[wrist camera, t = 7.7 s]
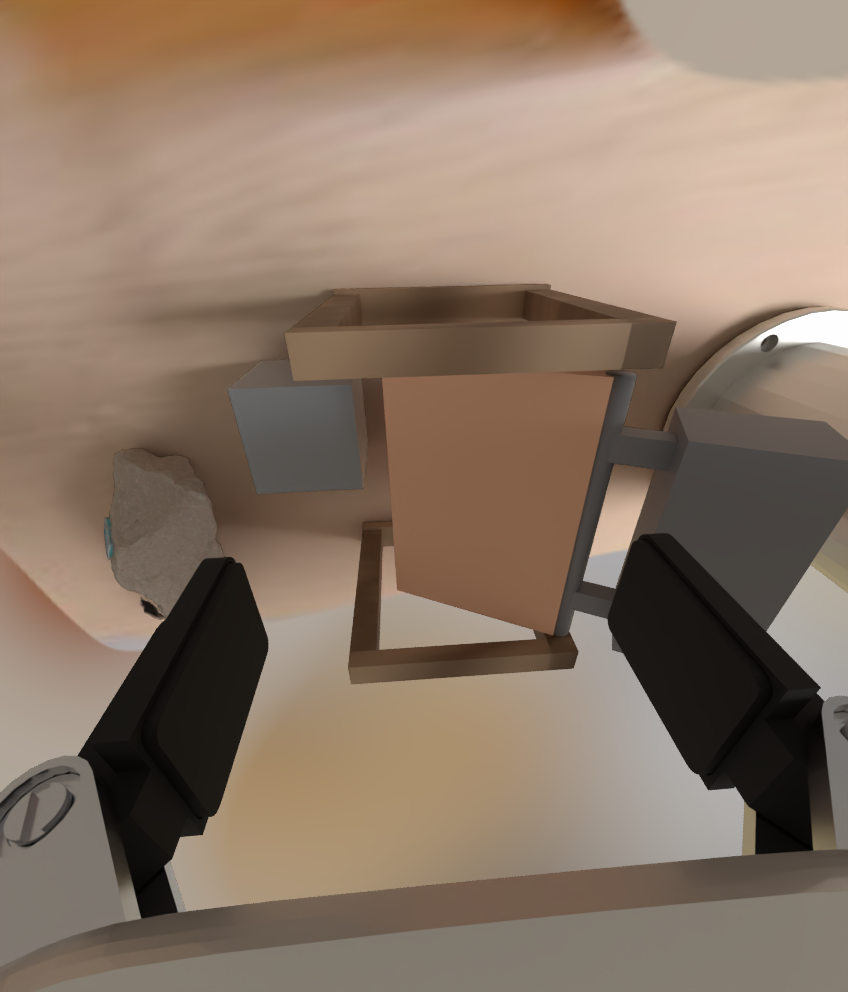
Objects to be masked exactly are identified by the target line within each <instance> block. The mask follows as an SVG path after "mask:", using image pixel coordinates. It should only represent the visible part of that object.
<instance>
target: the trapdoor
mask: <svg viewBox="0 0 848 992" xmlns="http://www.w3.org/2000/svg"><path fill="white" fill-rule="evenodd" d="M636 378H637V374H636V373H633V372H630V371H624V370H594V371H566V372H537V373H508V374H479V375H450V376H422V377H393V378H382V384H383V398H384V412H385V426H386V440H387V454H388V468H389V482H390V496H391V510H392V523H393V537H394V551H395V565H396V579H397V590H399V591H403V592H406V593H409V594H413V595H416V596H420V597H423V598H427V599H430V600H433V601H437V602H440V603H444V604H447V605H451V606H454V607H457V608H461V609H465V610H468V611H471V612H474V613H478V614H481V615H485V616H488V617H492V618H495V619H498V620H502V621H505V622H509V623H513V624H516V625H519V626H522V627H526V628H529V629H533V630H536V631H539V632H543V633H546V634H550V635H553V634H554V635H556V636H561V637H562V636H566V635H567V634H568V633H569V629H570V625H571V622H572V618H573V615H574V611H575V610H577V611H581V612H584V613H588V614H591V615H595V616H599V617H603V618H606V619H608V614H609V611H610V608H611V605H612V602H613V599H614V596H615V593H616V590H617V587H618V584H619V581H620V578H621V575H622V572H623V569H624V566H625V563H626V560H627V557H628V554H629V551H630V548H631V545H632V543H633V542H634V541H637V540H638V538H639V537H640V536H641V535H643V534H655V533H668V534H670V535H672V536H673V537H674V538H675V539H676V540H677V541H678V542H679V543H680V544H681V545H682V546H683V547H684V548H685V549H686V550H687V551H688V552H689V553H690V554H691V555H692V556H693V557H694V559H695V560H696V561H697V562H698V563H699V564H700V565H701V566H702V567H703V568H704V569H705V570H706V571H707V572H708V573H709V574H710V575H711V576H712V577H713V578H714V579H715V580H716V581H717V582H718V583H719V584H720V585H721V586H722V587H723V588H724V589H725V590H726V591H727V592H728V593H729V594H730V595H731V596H732V597H733V598H734V599H735V600H736V601H737V602H738V604H739V605H740V606H741V607H742V608H743V609H744V610H745V611H746V612H747V613H748V614H749V615H750V616H751V617H752V618H753V619H754V620H755V621H756V622H757V623H758V624H759V625H760V626H761V627H762V628H763V629H764V630H765V631H767V629H768V628H769V626H770V625H771V623H772V622H773V620H774V619H775V617H776V616H777V614H778V613H779V611H780V610H781V608H782V607H783V605H784V604H785V602H786V601H787V599H788V598H789V596H790V595H791V593H792V591H793V590H794V588H795V587H796V585H797V584H798V583H799V581H800V579H801V578H802V576H803V575H804V573H805V572H806V570H807V569H808V567H809V566H810V564H811V563H812V561H813V560H814V558H815V557H816V555H817V554H818V552H819V551H820V549H821V548H822V546H823V545H824V543H825V542H826V540H827V539H828V537H829V536H830V534H831V533H832V531H833V530H834V528H835V527H836V525H837V524H838V522H839V520H840V519H841V517H842V516H843V514H844V513H845V511H846V510H847V508H848V440H847V439H846V438H844V437H843V436H842V435H841V434H840V433H838V432H837V431H836V430H835V429H834V428H832V427H831V426H830V425H829V424H828V423H826V422H825V421H815V420H804V419H794V418H784V417H774V416H764V415H754V414H744V413H734V412H724V411H714V410H704V409H694V408H684V407H675V410H674V413H673V416H672V419H671V422H670V425H669V428H668V431H667V432H665V431H656V430H648V429H639V428H631V427H624V423H625V419H626V416H627V412H628V408H629V404H630V401H631V397H632V393H633V389H634V386H635V382H636ZM614 463H615V464H622V465H629V466H636V467H642V468H649V469H655V471H654V474H653V477H652V480H651V483H650V486H649V489H648V492H647V495H646V498H645V501H644V504H643V507H642V510H641V513H640V516H639V519H638V522H637V525H636V528H635V531H634V534H633V537H632V540H631V543H630V546H629V549H628V552H627V556H626V558H625V561H624V565H623V567H622V570H621V574H620V576H619V579H618V582H617V585H616V589H614V588H610V587H606V586H602V585H598V584H594V583H589V582H585V581H583V577H584V573H585V570H586V566H587V562H588V558H589V555H590V551H591V547H592V543H593V540H594V536H595V532H596V528H597V525H598V521H599V517H600V513H601V510H602V506H603V502H604V498H605V495H606V491H607V487H608V483H609V479H610V476H611V472H612V468H613V464H614ZM612 650H614V651H618V652H621V653H623V652H622V650H621V648H620V647H619V645H618V643H617V641H616V640H615V638H614V636H613V634H612Z"/></svg>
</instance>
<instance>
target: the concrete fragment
mask: <svg viewBox="0 0 848 992" xmlns="http://www.w3.org/2000/svg"><path fill="white" fill-rule="evenodd" d="M113 464H114V472H113V477H114V481H115V492H114V495H113V502H112V504H111V509H110V513H109V518H106V517H105V527H104V535H105V545H106V553H107V558H108V560H111V567H112V571H113V573H114V576H115V579H116V580H117V582H118V583H119V584H120V585H121V587H123V588H124V589H126V590H129V591H133V592H137V593H140V594H144V595H145V597H146V598H147V599H151V600H153V601H154V602H155V603H156V604H157V605H158V608H159V611H160V612H161V613H162V614H163V615H164V616H165V617H164V616H163V615H162V614H161V613H159V611H158V610H157V608H156V607H155V606H154V605H153V604H151V603H150V602H148V601H145V600H144V599H143V598H142V597H141V606H142V607H143V608H144V612H145V613H147V614H149V615H150V616H152V617H153V618H155V619H159V620H161V619H164V618H165V620H166V618H167V617H168V615H169V613H170V612H171V610H172V608H173V607H174V605H175V604H176V602H177V600H178V599H179V597H180V595H181V594H182V592H183V591H184V589H185V587H186V586H187V584H188V582H189V581H190V579H191V578H192V576H193V574H194V573H195V571H196V569H197V568H198V566H199V565H200V563H201V562H202V561H203V560H204V559H206V558H222V557H224V555H223V553H222V549H221V545H220V544H219V543H218V542H217V540H216V531H217V523H216V520H215V517H214V515H213V507H212V502H211V500H210V499H209V498H208V496H207V494H206V492H205V487H204V482H203V481H201V480H199V478H198V476H197V475H196V473H195V472H194V471H193V469H192V467H191V466H190V461H189V460H188V459H187V458H186V457H183V456H179V455H177V456H171V455H169V456H166V457H157V456H155V455H153V454H152V453H150V452H148V451H146V450H143V449H139V448H131V449H129V450H121V451H119V452H117V453H115V455H114V457H113Z"/></svg>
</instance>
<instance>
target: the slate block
mask: <svg viewBox="0 0 848 992" xmlns="http://www.w3.org/2000/svg"><path fill="white" fill-rule="evenodd" d="M227 390H228V393H229V397H230V400H231V404H232V407H233V411H234V414H235V418H236V422H237V425H238V429H239V432H240V436H241V439H242V443H243V446H244V450H245V454H246V457H247V461H248V464H249V468H250V471H251V475H252V479H253V482H254V486H255V489H256V493H257V494H267V493H287V492H308V491H328V490H348V489H363V486H364V477H365V469H366V461H367V452H368V438H367V428H366V418H365V408H364V397H363V387H362V379H335V380H306V381H293V376H292V371H291V365H290V360H261V361H260V362H259V363H258V364H256V365H255V366H254V367H253V368H252V369H251V370H249V371H248V372H247V373H246V374H245V375H243V376H242V377H241V378H240V379H239V380H238V381H236V382H235V383H234V384H233V385H232V386H231V387H229V388H228V389H227Z"/></svg>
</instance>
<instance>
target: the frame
mask: <svg viewBox="0 0 848 992" xmlns="http://www.w3.org/2000/svg"><path fill="white" fill-rule="evenodd" d="M550 287H551V285H549V284H529V285H487V286H445V287H403V288H361V289H334V290H333V291H334V295H333V296H332V297H331V298H329V299H328V300H327V301H326V302H324V303H323V304H322V305H320V306H319V307H318V308H316V309H315V310H314V311H313V312H311V313H310V314H309V315H307V316H306V317H305V318H303V319H302V320H301V321H299V322H298V323H297V324H296V325H294V326H293V327H292V328H290V329H289V330H288V331H286V332H285V333H284V334H285V339H286V344H287V350H288V355H289V360H290V365H291V371H292V376H293V381H306V380H335V379H364V378H393V377H422V376H450V375H479V374H508V373H537V372H566V371H594V370H623V369H652V368H663V366H664V363H665V359H666V356H667V352H668V349H669V346H670V342H671V339H672V336H673V332H674V329H675V326H676V321H672V320H668V319H664V318H660V317H656V316H652V315H648V314H644V313H640V312H636V311H632V310H628V309H624V308H620V307H616V306H612V305H608V304H604V303H601V302H597V301H593V300H589V299H585V298H581V297H577V296H573V295H569V294H565V293H561V292H557V291H553V290H550ZM383 546H394V537H393V523H392V521H384V522H364V523H363V533H362V542H361V552H360V561H359V570H358V580H357V589H356V598H355V608H354V617H353V627H352V637H351V646H350V655H349V664H348V670H349V675H350V680H351V684H363V683H375V682H376V683H377V682H391V681H405V680H419V679H433V678H446V677H460V676H475V675H488V674H502V673H516V672H529V671H530V672H531V671H544V670H558V669H572V668H574V665H575V662H576V658H577V655H578V650H577V647H576V645H575V643H574V641H573V639H572V637H571V634H570V632H569V633H568V634H567V635H566V636H562V637H561V636H556V635H554V634H553V635H550V634H546V633H543V632H539V631H536V630H533V631H534V634H535V636H536V639H533V640H519V641H505V642H489V643H475V644H460V645H445V646H430V647H415V648H402V649H401V648H400V649H387V650H379V638H380V610H381V609H380V608H381V580H382V551H383Z"/></svg>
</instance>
